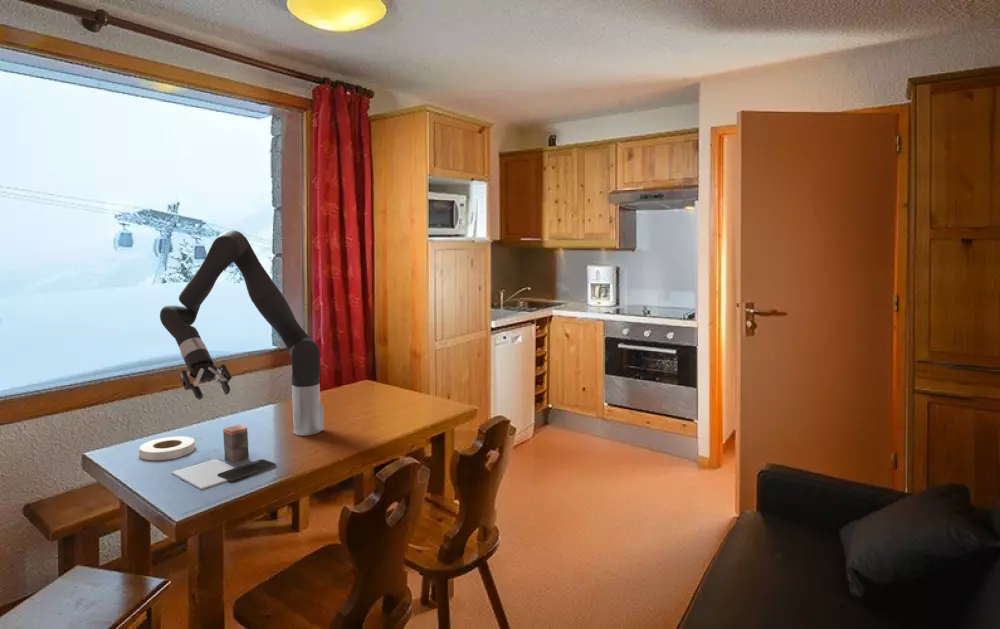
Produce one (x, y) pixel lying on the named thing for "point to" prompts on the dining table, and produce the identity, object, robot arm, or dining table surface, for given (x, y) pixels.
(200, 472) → the mat
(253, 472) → the phone
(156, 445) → the roll of tape
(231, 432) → the block
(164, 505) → the dining table surface
